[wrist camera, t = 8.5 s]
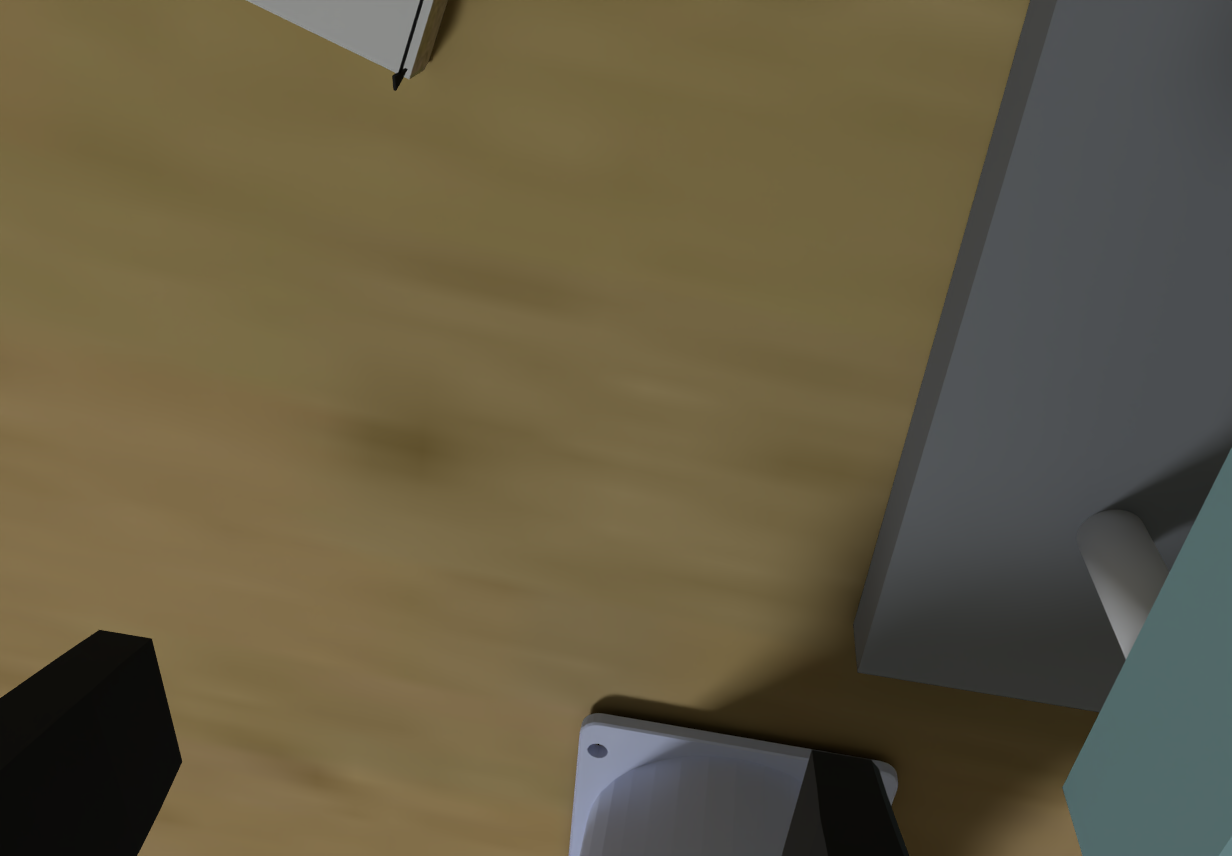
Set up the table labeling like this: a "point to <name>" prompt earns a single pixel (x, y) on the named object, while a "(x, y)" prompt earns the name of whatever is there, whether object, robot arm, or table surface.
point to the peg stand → (1069, 365)
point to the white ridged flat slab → (371, 28)
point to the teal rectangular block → (1169, 714)
